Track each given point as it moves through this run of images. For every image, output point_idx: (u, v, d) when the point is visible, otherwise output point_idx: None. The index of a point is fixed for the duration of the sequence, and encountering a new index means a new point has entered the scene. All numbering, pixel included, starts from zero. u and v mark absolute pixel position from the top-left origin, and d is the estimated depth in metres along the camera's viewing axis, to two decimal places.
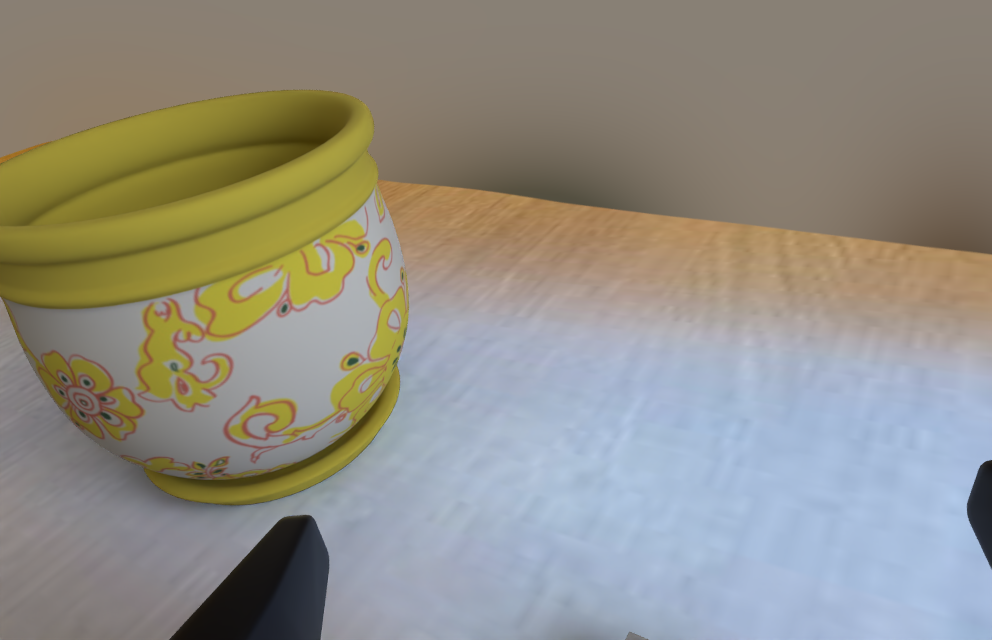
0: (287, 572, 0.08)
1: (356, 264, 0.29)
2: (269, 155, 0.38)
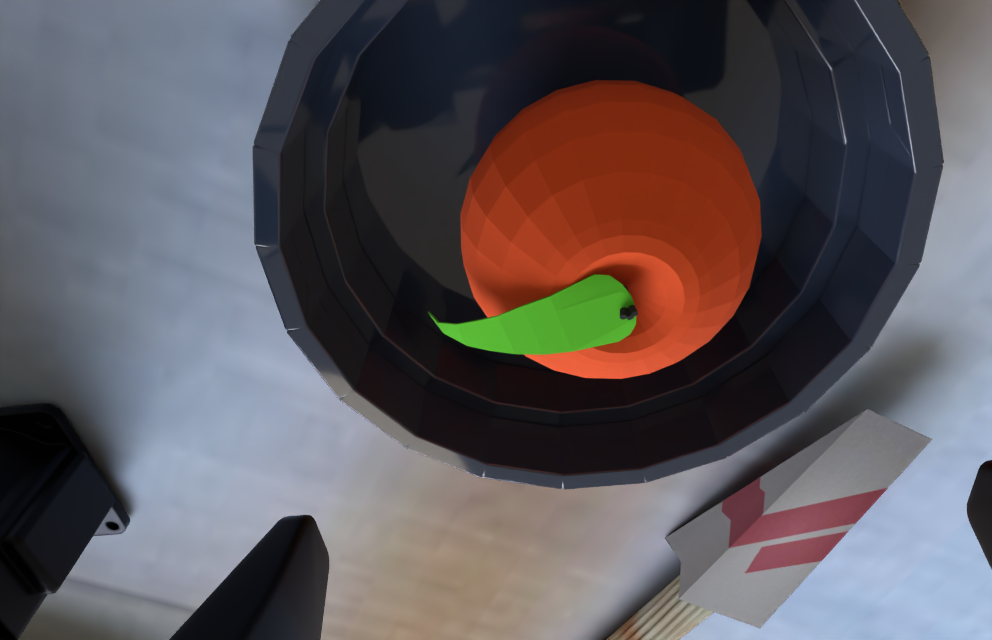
0: (287, 572, 0.08)
1: None
2: None
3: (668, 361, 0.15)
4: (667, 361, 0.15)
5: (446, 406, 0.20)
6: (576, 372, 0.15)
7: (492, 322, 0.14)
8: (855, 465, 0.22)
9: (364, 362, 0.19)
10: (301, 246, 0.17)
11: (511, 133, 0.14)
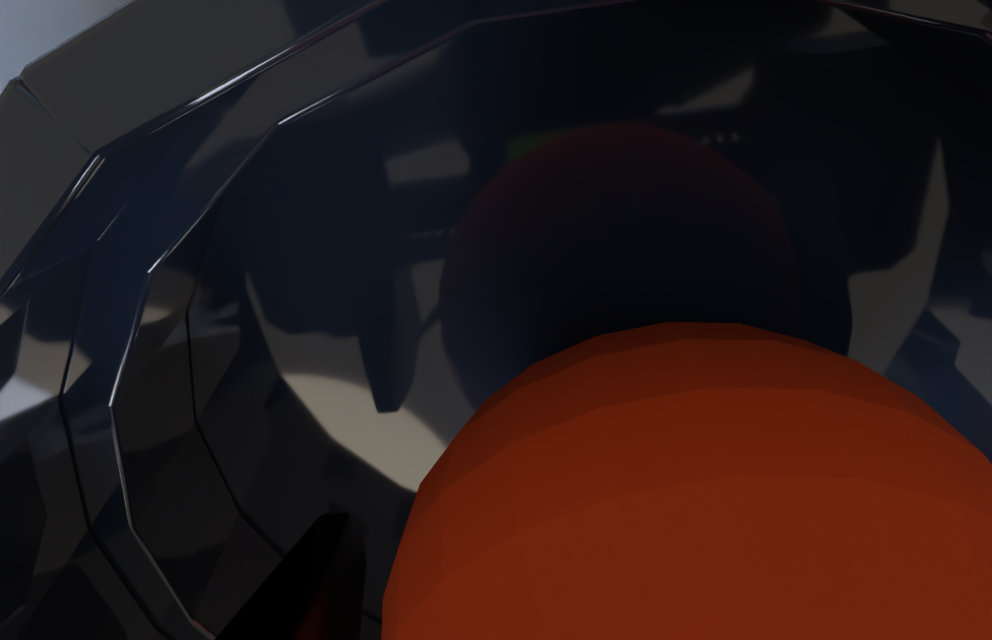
0: (330, 569, 0.08)
1: None
2: None
3: None
4: None
5: None
6: None
7: None
8: None
9: None
10: (75, 614, 0.08)
11: (489, 497, 0.06)
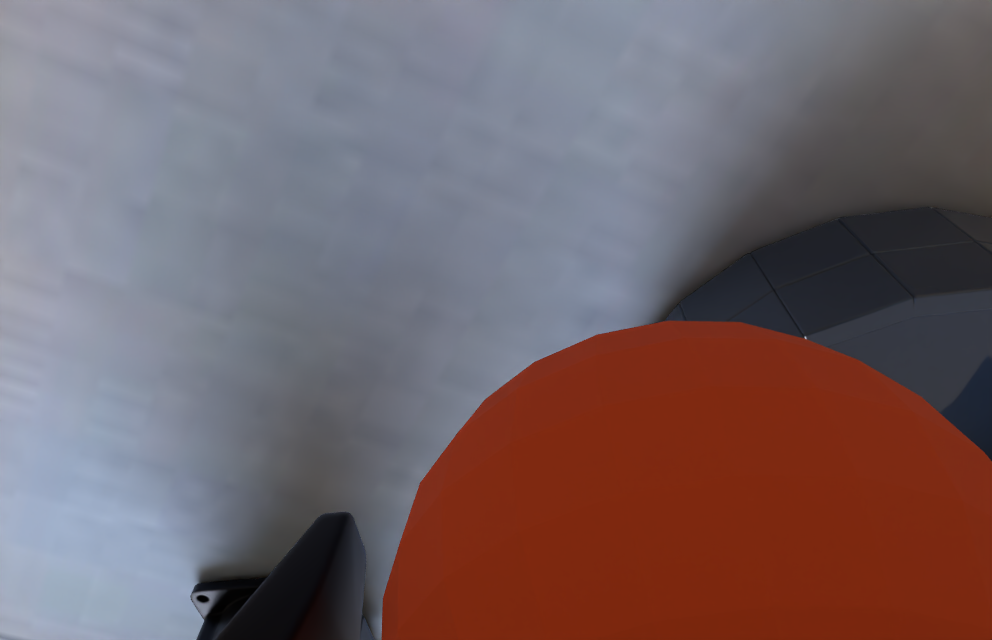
0: (330, 569, 0.08)
1: None
2: None
3: None
4: None
5: None
6: None
7: None
8: None
9: None
10: None
11: (489, 495, 0.06)
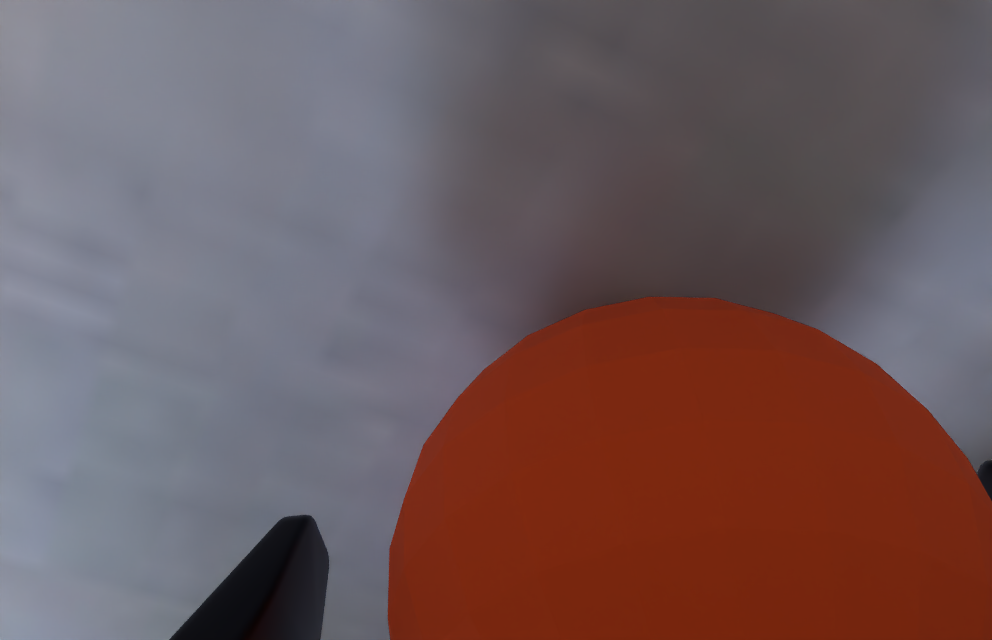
0: (287, 572, 0.08)
1: None
2: None
3: None
4: None
5: None
6: None
7: None
8: None
9: None
10: None
11: (485, 446, 0.07)
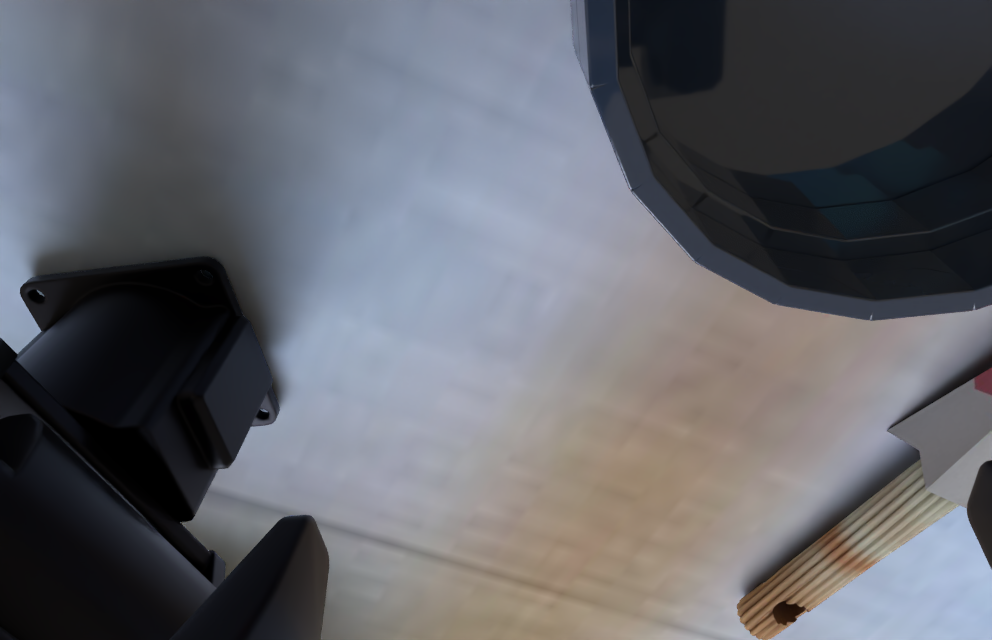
0: (287, 572, 0.08)
1: None
2: None
3: None
4: None
5: (720, 227, 0.17)
6: None
7: None
8: None
9: None
10: None
11: None
